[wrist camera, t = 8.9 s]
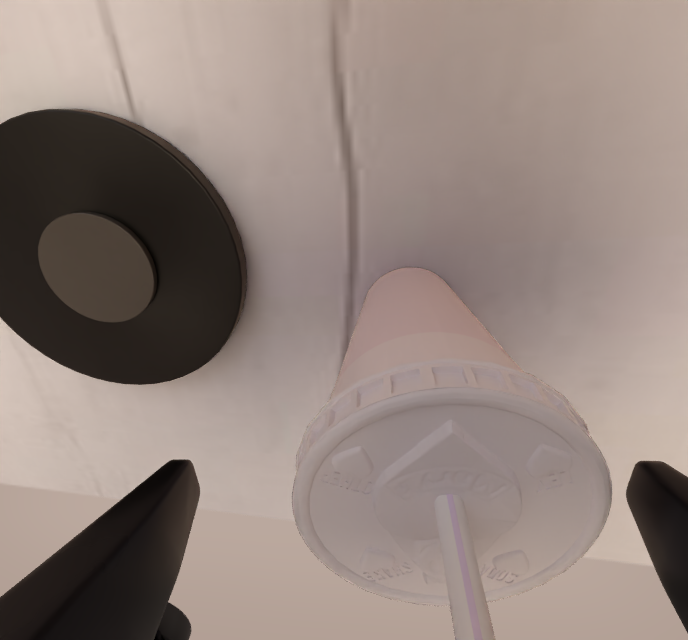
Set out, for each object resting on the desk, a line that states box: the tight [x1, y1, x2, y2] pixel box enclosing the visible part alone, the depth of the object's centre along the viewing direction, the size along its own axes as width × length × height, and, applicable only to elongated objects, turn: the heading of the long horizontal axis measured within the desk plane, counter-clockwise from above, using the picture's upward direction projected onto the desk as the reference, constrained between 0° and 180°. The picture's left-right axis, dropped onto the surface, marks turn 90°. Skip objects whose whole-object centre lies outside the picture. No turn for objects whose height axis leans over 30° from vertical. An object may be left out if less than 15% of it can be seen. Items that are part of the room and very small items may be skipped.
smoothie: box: [292, 267, 612, 640], centre depth 11 cm, size 6×6×14 cm
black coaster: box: [0, 109, 247, 385], centre depth 16 cm, size 11×11×1 cm
